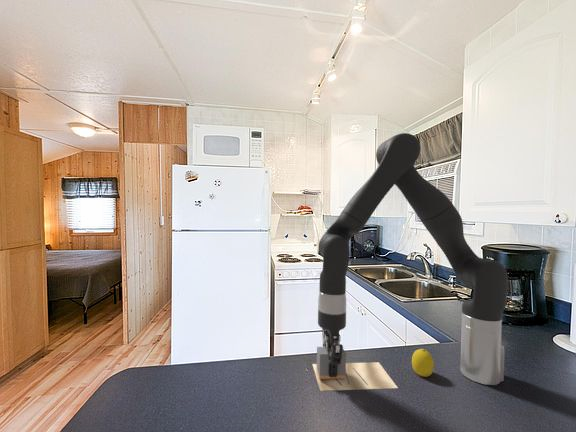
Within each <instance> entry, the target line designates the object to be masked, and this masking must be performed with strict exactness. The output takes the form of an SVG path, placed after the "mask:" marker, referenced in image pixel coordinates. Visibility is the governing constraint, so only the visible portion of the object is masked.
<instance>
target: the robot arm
mask: <svg viewBox="0 0 576 432" xmlns="http://www.w3.org/2000/svg"><path fill="white" fill-rule="evenodd" d="M420 154H421V144H420V141H419V140H418V138H417V137H416V136H415V135H414V134H411V133H408V132H407V133H406V132H404V133H398V134H395V135H392V136H391V137H390V138H388V139H386V140H385V141H383V142H382V143H381V144H380V145H379V146H378V147H377V149H376V153H375V157H376V162H377V165H378V166H377V168H376V169H375V170H374V172H373V173H372V175H371V176H369V178H368V180H366V182H365V183H364V184H362V186H361V187H360V188H359V189H358V190H356V192H355V193H354V195H353V196H352V197H351V198H350V199H349V201H348V202H347V204H346V205H345V207H344V209H343V210H342V211H341V212H340V214H339V216H338V217H337V218H336V220H335V221H334V222H333V223H332V224H331V225H330V227H328V229H327V230H326V231H325V232H324V234H323V235H322V237H320V240H319V241H318V242H319V243H318V251H319V253H320V254H321V255H322V258H323V259H322V269H321V270H322V271H321V272H320V274H319V289H318V291H319V292H318V301H317V302H318V303H317V324H318V327H320V328H321V330H322V333H321V334H322V347H326V351H327V353H328V354H329V360H328V362H329V377H337V368H338V364H341V357H342V350H343V349H344V346H343V344H341V334H340V331H341V330H344V329H345V328H346V325H347V294H346V293H347V291H346V289H347V288H346V287H347V286H346V285H347V283H346V282H347V272H348V268H349V264H350V251H351V250H350V244H349V242H350V240H351V239H352V237H353V236H355V235H357V234H359V233H360V232H361V231H362V230H363V229H364V227H365V226H366V224H367V222H368V221H369V219H371V218H372V217H371V216H372V215H373V213H374V212H375V211H376V209H377V208H378V206H379V205H380V203H382V201H383V199H384V198H385V197H386V195H387V194H388V193H389V191H390V190H391V189H392V188H393V187H394V186H396V187H397V188H398V189H399V191H400V192H401V193H402V195H403V196H404V198H405V199H406V201H407V203H408V204H409V205H410V207H411V208H412V210H413V211H414V213H415V214H416V216H417V217H418V219H419V220H420V222H421V223H422V224H423V226H424V227H425V229H426V230H427V232H429V234H430V235H431V237H432V238H433V240H434V241H435V242H436V244H437V246H438V247H439V248H440V249H441V251H442V252H443V254H444V255H445V257H446V259H447V260H448V263H449V264H450V266H451V268H452V270H453V272H454V274H455V275H456V278H457V279H458V280H459V282H461V283H462V285H463V286H465V287H467V288H470V289H472V290H473V296H472V299H470V300H469V299H468V300H465V301H463V302H462V305H461V330H460V333H461V335H460V337H461V339H460V367H459V369H460V370H459V371H460V373H461V374H462V375H463V376H465V377H466V378H467V379H469V380H471V381H473V382H476V383H479V384H482V385H487V386H497V385H499V384H500V383H501V382H504V377H505V374H504V373H505V371H504V370H505V346H504V345H502V322H503V321H502V320H503V319H502V317H503V313H504V311H505V309H506V307H507V306H506V305H507V298H508V297H507V295H508V286H509V285H508V283H509V275H508V271H507V270H506V268H505V266H504V265H503V264H502V263H500V262H499V261H496V260H492V259H487V258H482V257H479V255H477V254H476V253H475V252H474V251H473V250H472V248H471V247H470V245H469V244H468V243H467V242H468V241H466V239H465V234H464V223H463V219H462V216H461V214H460V213H459V211H458V210H457V208H456V206H455V205H454V204H453V202H452V200H450V198H449V197H448V196H447V195H446V194H445V193H444V192H443V191H441V190H440V189H439V188H437V187H436V186H435V185H433V184H432V183H430V182H429V181H428V180H426V179H425V178H424V177H423V176H422V175H421V174H420V173H419V171H418V170H417V168H416V167H415V166H414V164H415V163H417V160H419V156H420ZM329 348H331V349H332V350H329Z"/></svg>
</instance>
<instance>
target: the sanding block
mask: <svg viewBox="0 0 576 432" xmlns="http://www.w3.org/2000/svg"><path fill="white" fill-rule="evenodd" d="M329 350H332V349H331V348H329ZM328 360H329V354H328V353H327V351H326V347H323V346H317V347H316V364H317V373H318V376H319V379H334V378H346V363H347V352H346V351H345V349H344V348H343V350H342V357H341V364H338V368H337V377H329V362H328Z"/></svg>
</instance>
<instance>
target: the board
mask: <svg viewBox="0 0 576 432" xmlns="http://www.w3.org/2000/svg"><path fill="white" fill-rule="evenodd" d="M312 368H313V371H314V375H315V377H316V381H317V385H318V387H319V388H318V389H319V391H320V392H321V391H322V392H325V391H327V392H328V391H329V392H330V391H354V390H355V391H358V390H378V389H379V390H381V389H382V390H386V389H387V390H388V389H399V387H398V386H397V385H396V383H395V382H394V381H393V379H392V378H391V377H390V375H389V374H388V373H387V371H386V370H385V369H384V367H383V366H382V364H381V363H380V362H377V361H376V362H374V361H373V362H346V378H334V379H319V376H318V373H317V363H312Z"/></svg>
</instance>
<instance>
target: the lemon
mask: <svg viewBox="0 0 576 432" xmlns="http://www.w3.org/2000/svg"><path fill="white" fill-rule="evenodd" d="M434 363H435V361H434V358H433V356H432V355H431V353H430V352H429V351H427V350H426V349H425V348H419V349H416V350H415V351H414V352H413V354H412V356H411V366H412V369H413V371H414V372H415V373H416V374H417V375H418V376H419V377H422V378H427V377H430V376H431V375H432V374H433V372H434V367H435V366H434V365H435V364H434Z"/></svg>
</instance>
